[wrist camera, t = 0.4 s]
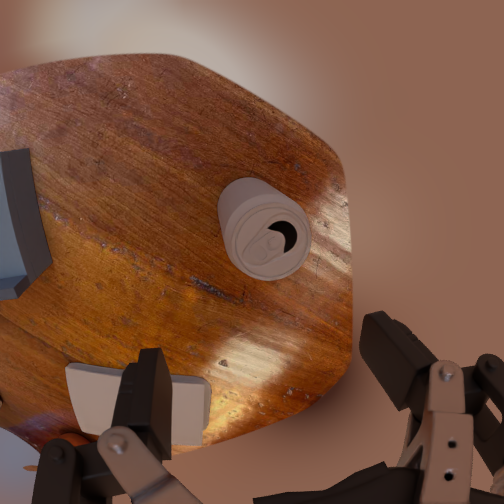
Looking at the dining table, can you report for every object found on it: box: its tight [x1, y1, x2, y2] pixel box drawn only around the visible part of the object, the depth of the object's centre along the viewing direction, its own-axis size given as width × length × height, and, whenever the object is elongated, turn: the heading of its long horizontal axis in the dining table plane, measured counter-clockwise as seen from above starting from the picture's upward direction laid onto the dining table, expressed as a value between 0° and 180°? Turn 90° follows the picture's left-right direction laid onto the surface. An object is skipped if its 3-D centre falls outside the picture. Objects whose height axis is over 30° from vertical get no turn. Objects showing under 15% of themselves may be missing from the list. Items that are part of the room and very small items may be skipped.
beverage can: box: [217, 177, 311, 281], centre depth 25 cm, size 6×6×12 cm
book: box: [65, 363, 212, 446], centre depth 37 cm, size 15×23×4 cm, turn 81°
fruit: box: [58, 433, 90, 446], centre depth 38 cm, size 9×9×8 cm
